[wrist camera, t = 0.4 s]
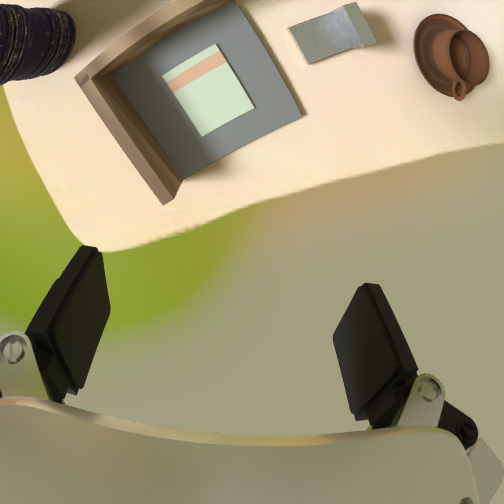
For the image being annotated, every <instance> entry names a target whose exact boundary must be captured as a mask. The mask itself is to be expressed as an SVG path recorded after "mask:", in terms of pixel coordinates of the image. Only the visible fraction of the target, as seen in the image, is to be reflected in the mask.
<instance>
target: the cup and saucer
mask: <svg viewBox="0 0 504 504" xmlns="http://www.w3.org/2000/svg"><path fill="white" fill-rule="evenodd" d="M413 44H414V54H415V59H416V62H417V65H418V67H419V69H420V71H421V73H422V75H423V76H424V78H425V79H426V80H427V82H428V83H429V84H430V85H431V86H432V87H433V88H434V89H436V90H437V91H439V92H440V93H442V94H444V95H447V96H450V97H454V98H455V99H456V100H458V101H461V100H463V99H464V97H465V95H466V94H468V93H469V92H471V91H472V90H473V88H474V87H475V86H476V85H479V84H481V83H482V82H483V81H484V80H485V79H486V77H487V75H488V72H489V56H488V53H487V50H486V48H485V46H484V44H483V42H482V41H481V40H480V38H479V37H478V36H477V35H476V34H474V33H473V32H471V31H469V30H468V29H467V28H466V27H465V26H464V25H463V24H462V23H461V22H459V21H458V20H456V19H455V18H453V17H451V16H448V15H445V14H434V15H430V16H428V17H426V18H425V19H424V20H422V21H421V22H420V24H419V25H418V27H417V29H416V31H415V35H414V43H413Z"/></svg>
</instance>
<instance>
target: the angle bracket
mask: <svg viewBox="0 0 504 504" xmlns="http://www.w3.org/2000/svg"><path fill="white" fill-rule="evenodd" d="M287 30H288V32H289V34H290V35H291V37H292V39H293V41H294V42H295V44H296V46H297V48H298V49H299V51H300V53H301V55H302V57H303V58H304V60H305V62H306V64H311V63H313V62H316V61H318V60H321V59H323V58H326V57H329V56H331V55H334V54H337V53H339V52H342V51H345V50H348V49H353V48H362V47H367V46H370V45H373V44H376V43H377V42H376V39H375V37H374V35H373V33H372V31H371V29H370V27H369V25H368V23H367V21H366V19H365V17H364V16H363V14H362V12H361V10H360V8H359V6H358V5H357V3H356V2H354V3H350V4H347V5H343V6H341V7H339V8H338V9H336V10H334V11H332V12H330V13H328V14H325V15H322V16H319V17H316V18H313V19H310V20H308V21H305V22H302V23H299V24H297V25H294V26H292V27H289V28H288V29H287Z"/></svg>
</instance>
